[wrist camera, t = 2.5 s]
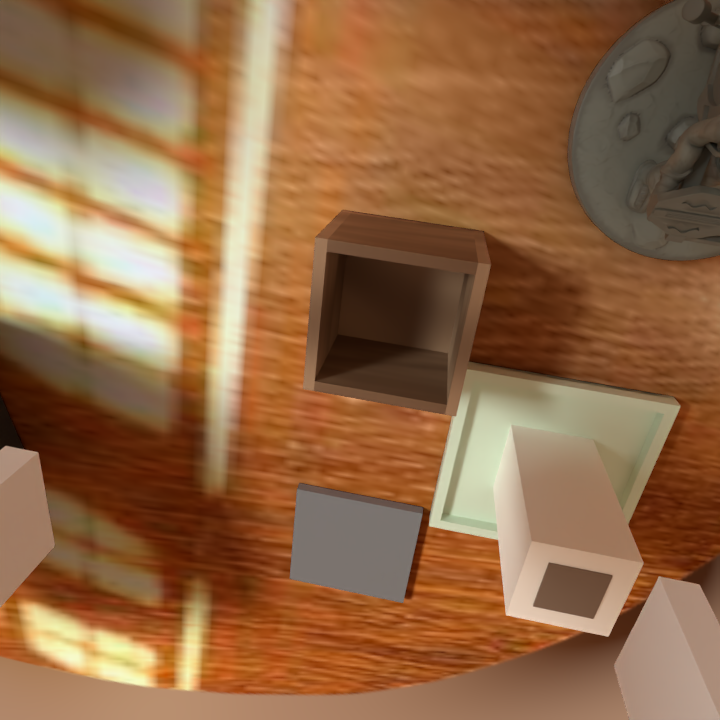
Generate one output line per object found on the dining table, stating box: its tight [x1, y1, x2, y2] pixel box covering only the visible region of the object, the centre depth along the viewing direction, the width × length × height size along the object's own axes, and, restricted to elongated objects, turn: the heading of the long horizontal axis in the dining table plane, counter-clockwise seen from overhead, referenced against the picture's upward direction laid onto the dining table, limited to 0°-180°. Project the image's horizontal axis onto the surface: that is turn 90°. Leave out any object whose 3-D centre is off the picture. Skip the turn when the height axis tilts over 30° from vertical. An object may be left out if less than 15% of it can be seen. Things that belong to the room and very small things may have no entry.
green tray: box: [429, 362, 681, 540], centre depth 31 cm, size 11×11×1 cm
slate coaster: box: [290, 483, 423, 603], centre depth 36 cm, size 8×8×1 cm
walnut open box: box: [303, 210, 491, 416], centre depth 26 cm, size 7×7×6 cm
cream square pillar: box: [493, 425, 644, 636], centre depth 27 cm, size 5×5×9 cm
